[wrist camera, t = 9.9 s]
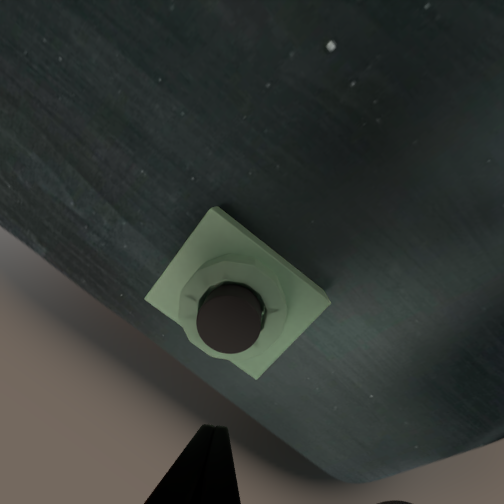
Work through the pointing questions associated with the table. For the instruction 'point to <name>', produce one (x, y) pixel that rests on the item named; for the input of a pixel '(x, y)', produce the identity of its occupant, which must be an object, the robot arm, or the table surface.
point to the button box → (244, 274)
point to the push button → (229, 319)
